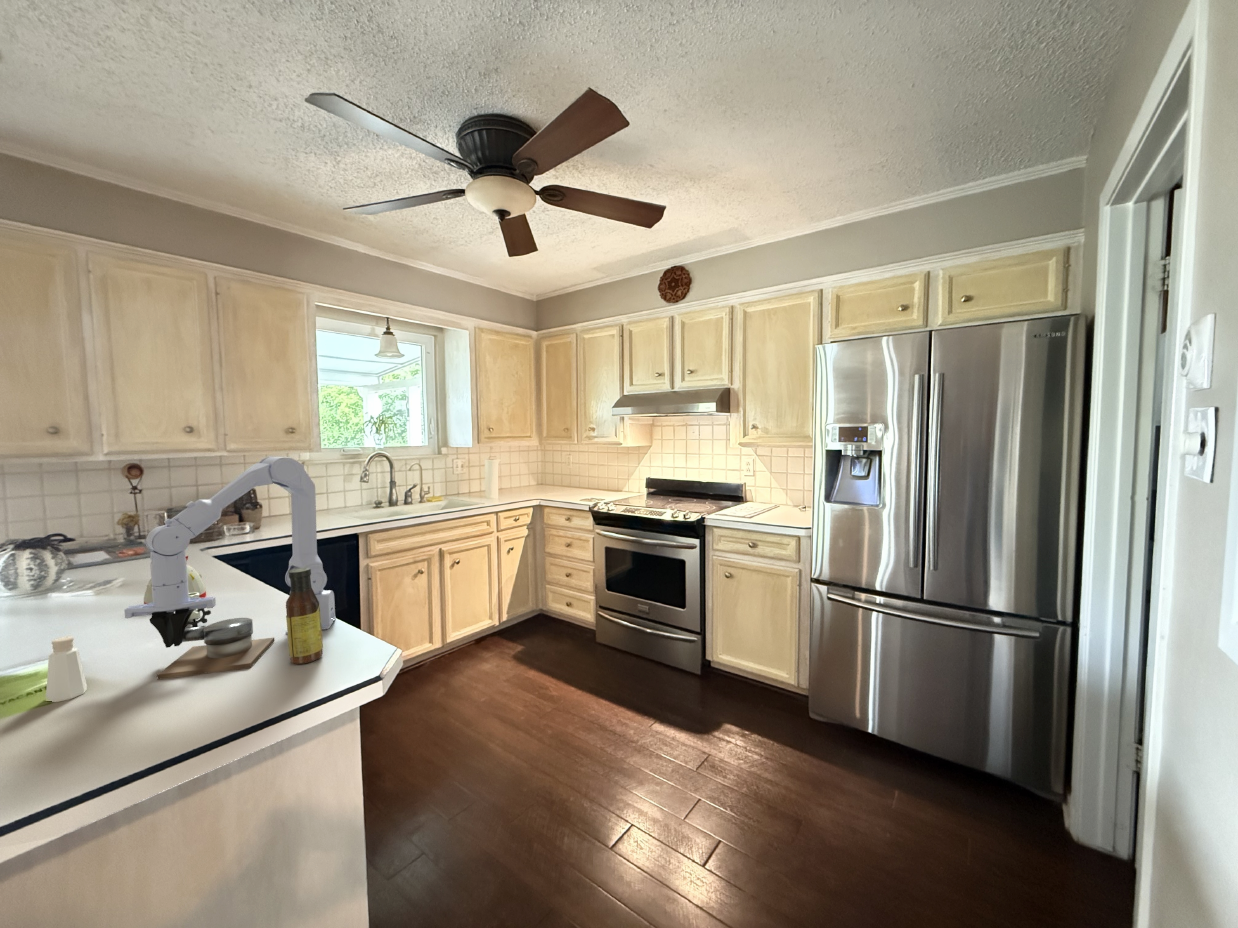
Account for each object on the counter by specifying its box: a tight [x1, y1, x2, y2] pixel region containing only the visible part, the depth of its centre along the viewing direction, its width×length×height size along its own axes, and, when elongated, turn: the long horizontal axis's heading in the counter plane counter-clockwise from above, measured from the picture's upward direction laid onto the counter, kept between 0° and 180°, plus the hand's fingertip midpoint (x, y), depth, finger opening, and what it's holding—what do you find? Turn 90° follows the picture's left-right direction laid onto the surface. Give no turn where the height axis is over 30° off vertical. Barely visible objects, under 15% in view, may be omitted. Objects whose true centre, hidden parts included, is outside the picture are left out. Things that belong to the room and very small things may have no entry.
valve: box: [186, 592, 212, 628], centre depth 132 cm, size 7×7×12 cm
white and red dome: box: [143, 555, 207, 604], centre depth 149 cm, size 14×14×15 cm
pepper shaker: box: [45, 635, 88, 703], centre depth 94 cm, size 5×5×11 cm
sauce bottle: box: [285, 568, 324, 665], centre depth 109 cm, size 6×6×20 cm
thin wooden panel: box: [156, 634, 275, 680], centre depth 109 cm, size 16×14×4 cm
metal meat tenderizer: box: [162, 617, 254, 645], centre depth 111 cm, size 16×9×3 cm, turn 105°
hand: (174, 645), depth 107 cm, fingers closed
